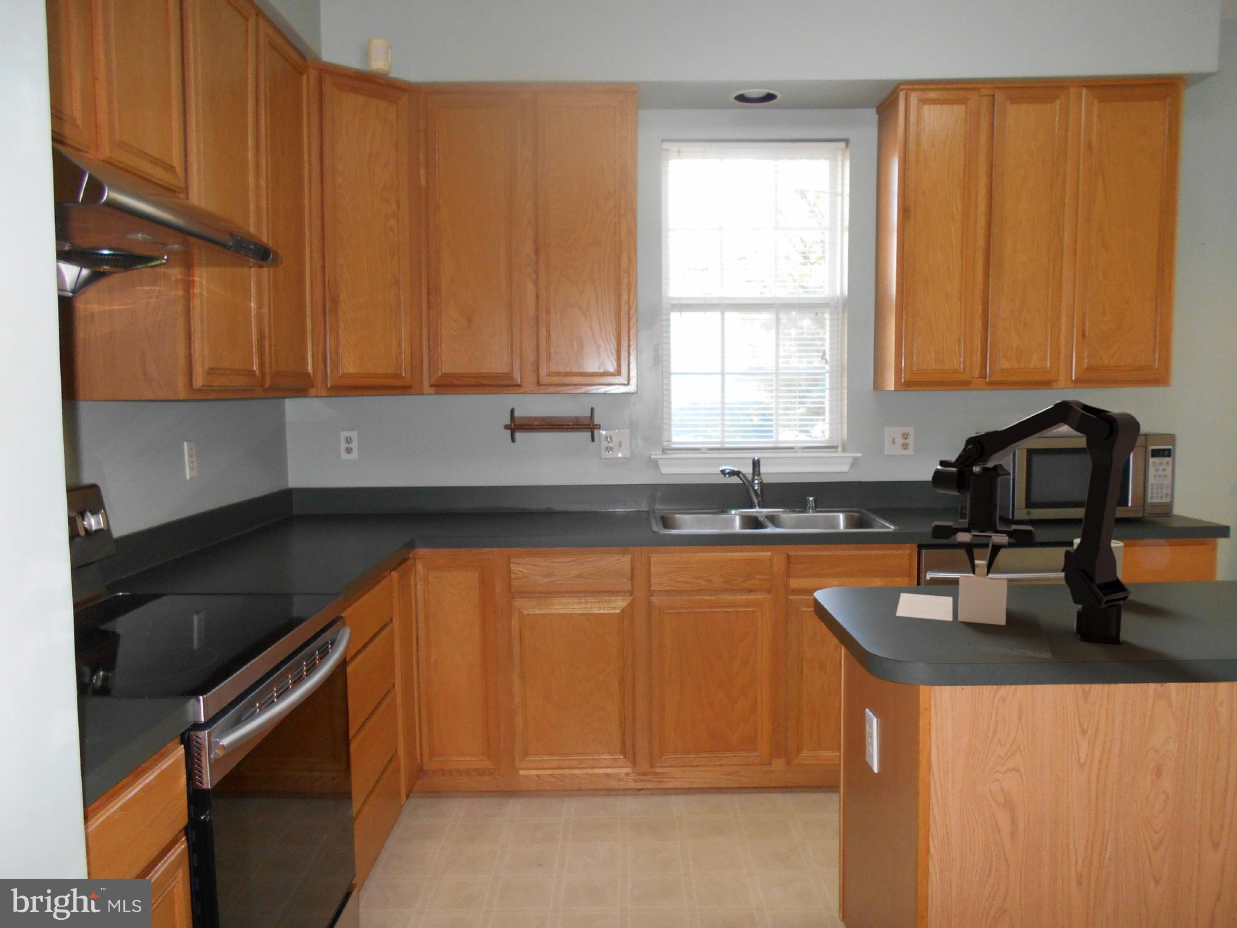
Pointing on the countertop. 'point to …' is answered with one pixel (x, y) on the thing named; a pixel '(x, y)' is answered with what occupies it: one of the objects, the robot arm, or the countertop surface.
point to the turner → (980, 569)
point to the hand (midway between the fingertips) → (980, 575)
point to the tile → (982, 599)
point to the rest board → (925, 606)
